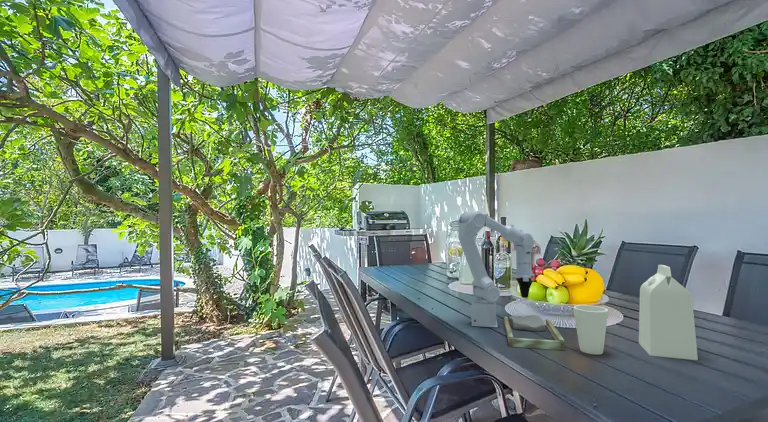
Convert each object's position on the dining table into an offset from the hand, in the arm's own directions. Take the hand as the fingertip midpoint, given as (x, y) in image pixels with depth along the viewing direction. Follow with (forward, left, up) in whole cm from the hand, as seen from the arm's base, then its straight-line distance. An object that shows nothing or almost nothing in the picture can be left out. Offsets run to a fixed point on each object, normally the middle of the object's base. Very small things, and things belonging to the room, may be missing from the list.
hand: (524, 296), depth 153 cm
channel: (0, -20, -9) cm, 22 cm away
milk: (+38, -28, -10) cm, 48 cm away
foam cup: (+16, -33, -10) cm, 38 cm away
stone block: (0, -11, -10) cm, 15 cm away
